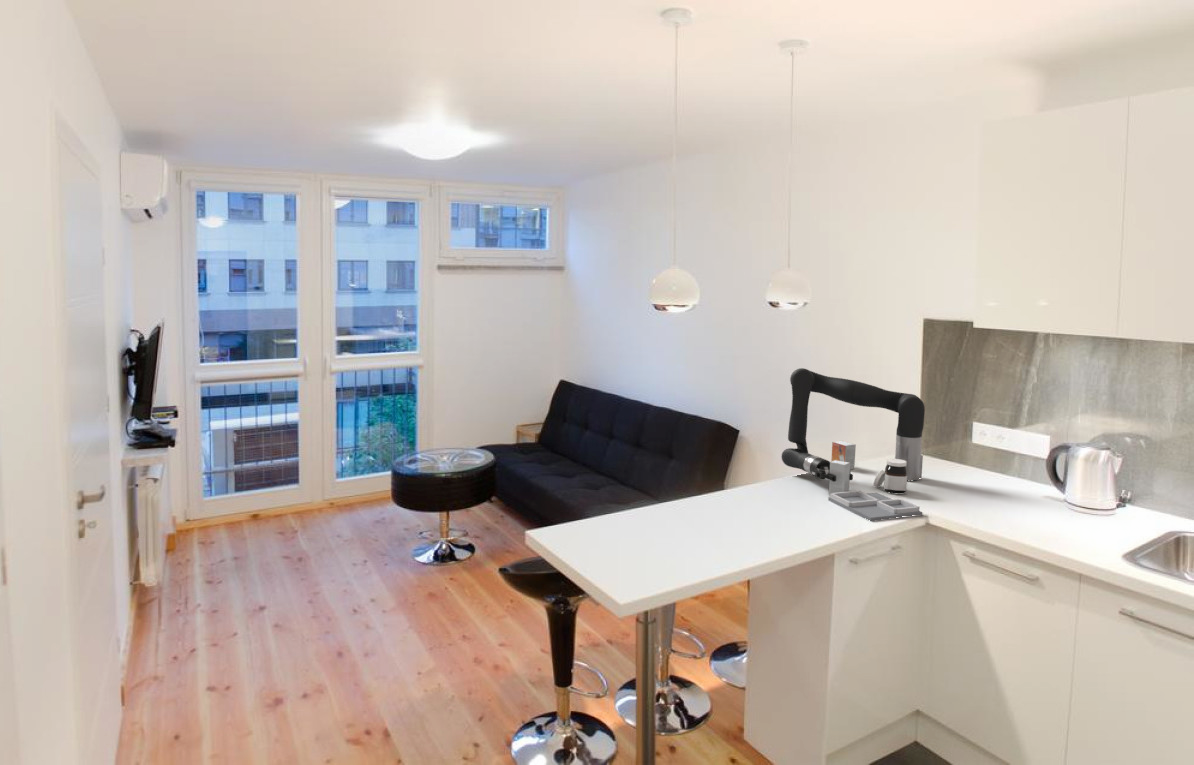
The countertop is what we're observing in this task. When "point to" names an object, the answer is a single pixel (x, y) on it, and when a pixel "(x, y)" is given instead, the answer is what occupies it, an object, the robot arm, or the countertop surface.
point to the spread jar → (893, 476)
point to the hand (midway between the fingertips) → (843, 478)
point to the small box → (843, 452)
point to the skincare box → (839, 476)
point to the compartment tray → (874, 505)
